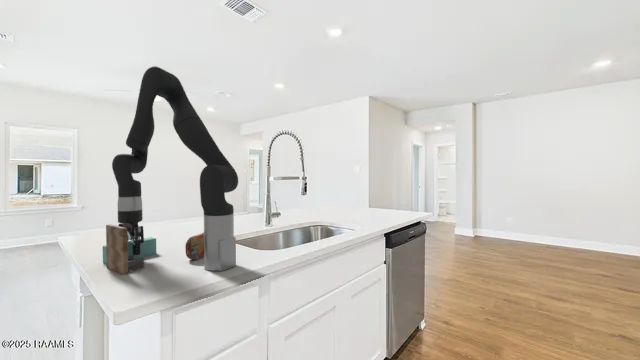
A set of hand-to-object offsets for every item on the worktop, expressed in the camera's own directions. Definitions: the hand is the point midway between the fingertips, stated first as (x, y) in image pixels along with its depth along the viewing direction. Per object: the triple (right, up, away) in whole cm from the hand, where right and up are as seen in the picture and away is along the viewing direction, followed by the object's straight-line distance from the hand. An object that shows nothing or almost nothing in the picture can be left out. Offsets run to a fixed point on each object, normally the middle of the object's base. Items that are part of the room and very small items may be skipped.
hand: (130, 253), depth 104 cm
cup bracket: (+6, -2, -12) cm, 14 cm away
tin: (+25, -2, +2) cm, 25 cm away
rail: (0, -2, 0) cm, 2 cm away
